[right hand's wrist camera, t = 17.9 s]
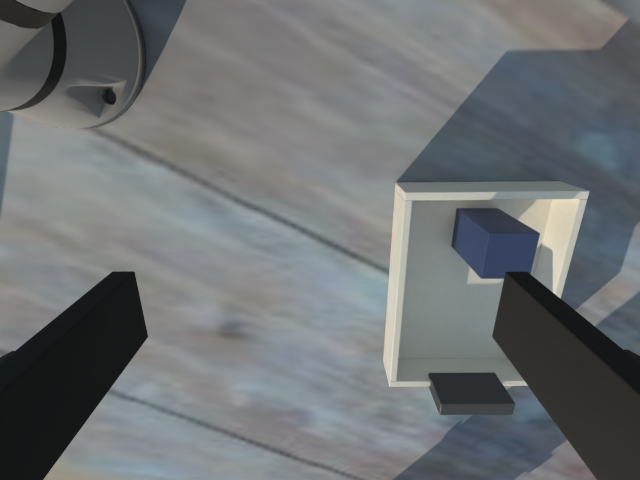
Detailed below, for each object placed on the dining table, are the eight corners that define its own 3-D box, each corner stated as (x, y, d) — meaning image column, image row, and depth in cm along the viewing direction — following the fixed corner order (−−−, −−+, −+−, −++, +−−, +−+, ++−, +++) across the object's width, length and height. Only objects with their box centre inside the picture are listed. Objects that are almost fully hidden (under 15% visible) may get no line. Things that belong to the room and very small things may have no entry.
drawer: (395, 182, 38) (414, 202, 30) (559, 181, 38) (621, 201, 30) (382, 363, 47) (395, 415, 39) (516, 362, 47) (556, 414, 39)
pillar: (456, 207, 39) (489, 233, 31) (497, 207, 39) (540, 233, 31) (450, 246, 40) (480, 279, 33) (490, 246, 40) (529, 279, 33)
